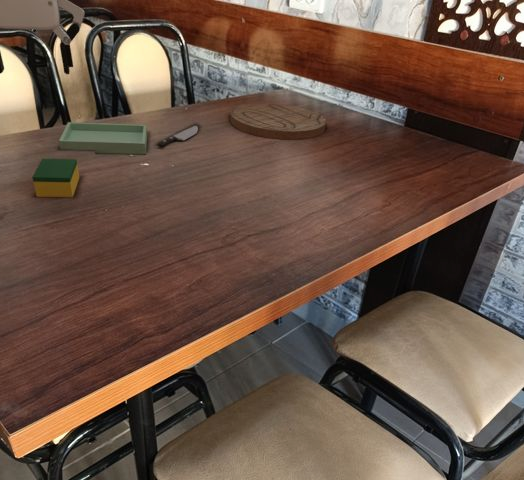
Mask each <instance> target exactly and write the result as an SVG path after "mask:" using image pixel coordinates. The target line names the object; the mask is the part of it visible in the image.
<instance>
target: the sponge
mask: <svg viewBox="0 0 524 480" xmlns="http://www.w3.org/2000/svg"><path fill="white" fill-rule="evenodd" d="M79 180H80V173H79V166H78V159H76V158H44V157H43V158H41V160H40V162H39V164H38V165H37V167H36V170H35V171H34V173H33V176H32V182H33V187H34V191H35V195H36V197H37V198H41V197H42V198H43V197H45V198H47V197H48V198H74V195H75V193H76V189H77V186H78V183H79Z"/></svg>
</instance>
